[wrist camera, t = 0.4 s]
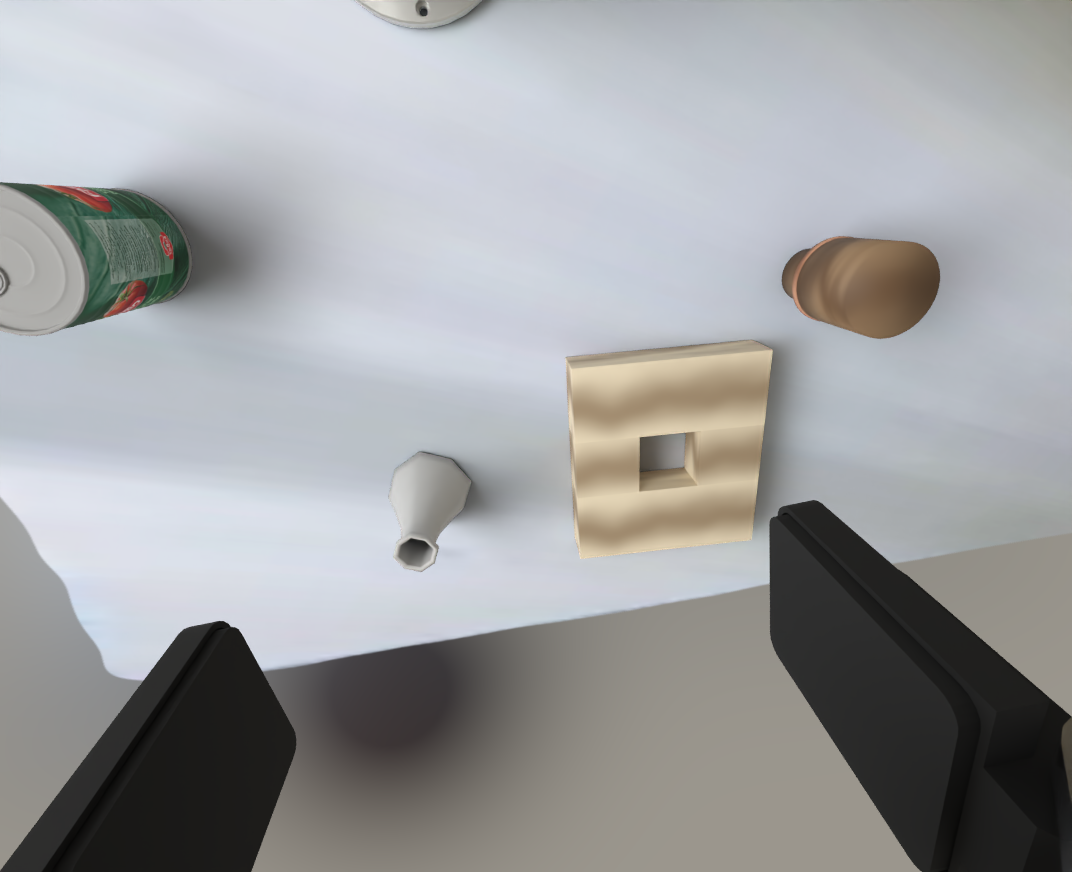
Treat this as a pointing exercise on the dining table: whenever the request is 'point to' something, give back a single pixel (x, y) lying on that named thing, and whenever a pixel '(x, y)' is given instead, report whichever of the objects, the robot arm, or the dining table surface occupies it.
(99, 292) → the canned tomato
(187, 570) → the dining table surface
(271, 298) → the dining table surface
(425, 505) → the flask
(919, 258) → the peg
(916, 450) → the dining table surface
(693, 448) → the board
